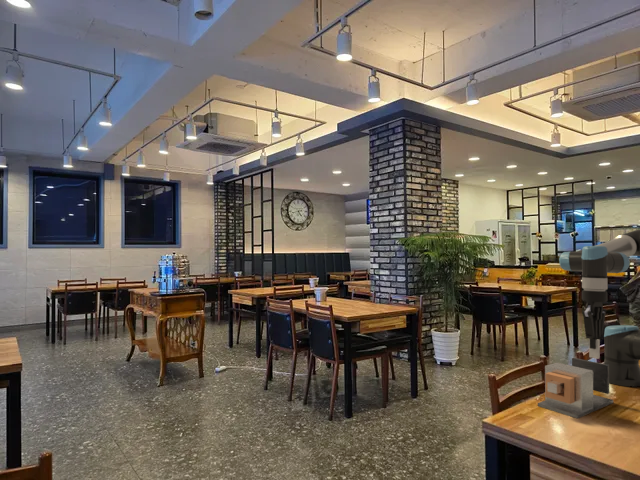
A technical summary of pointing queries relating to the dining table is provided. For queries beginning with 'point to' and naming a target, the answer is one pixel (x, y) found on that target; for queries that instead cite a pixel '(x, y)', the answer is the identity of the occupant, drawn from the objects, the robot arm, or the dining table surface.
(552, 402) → the block
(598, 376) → the grey crossbar bracket
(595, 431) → the dining table surface
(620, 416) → the dining table surface
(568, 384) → the block
